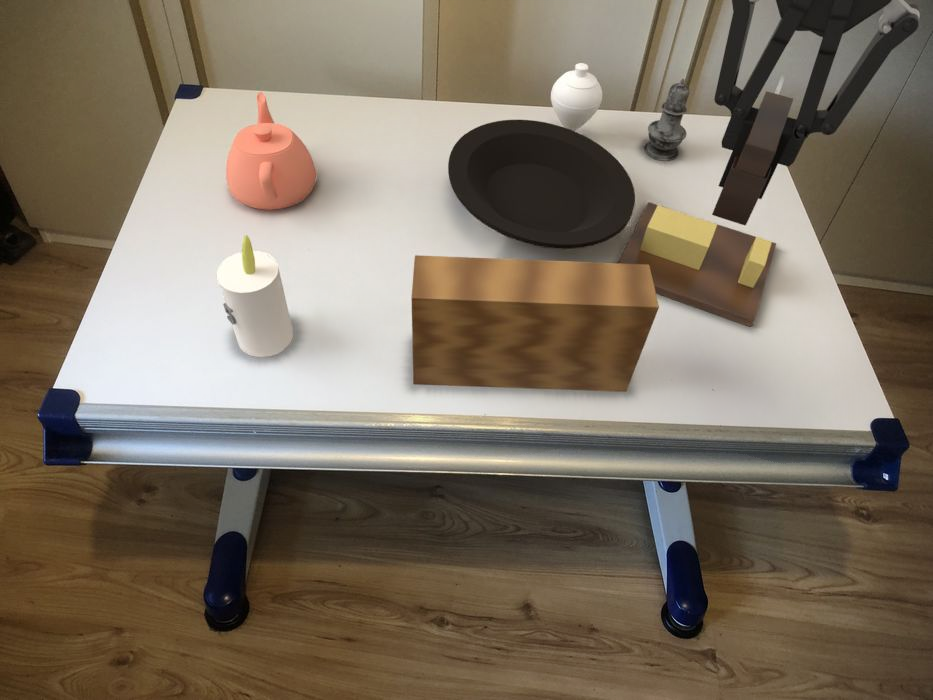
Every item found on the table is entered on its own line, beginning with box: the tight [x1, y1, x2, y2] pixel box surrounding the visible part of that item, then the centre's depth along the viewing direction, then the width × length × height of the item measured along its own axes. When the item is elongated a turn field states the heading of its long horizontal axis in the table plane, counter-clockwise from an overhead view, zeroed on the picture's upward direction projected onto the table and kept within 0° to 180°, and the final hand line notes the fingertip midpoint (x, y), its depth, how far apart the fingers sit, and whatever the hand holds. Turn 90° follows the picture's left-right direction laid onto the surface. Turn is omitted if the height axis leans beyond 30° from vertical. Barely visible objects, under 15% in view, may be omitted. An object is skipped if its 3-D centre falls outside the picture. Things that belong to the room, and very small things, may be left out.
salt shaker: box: [643, 78, 691, 162], centre depth 103 cm, size 6×6×12 cm
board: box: [617, 202, 777, 328], centre depth 91 cm, size 16×18×1 cm
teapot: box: [225, 92, 317, 211], centre depth 94 cm, size 12×18×10 cm
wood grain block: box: [410, 254, 660, 393], centre depth 73 cm, size 24×6×14 cm, turn 90°
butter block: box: [640, 204, 718, 270], centre depth 90 cm, size 5×8×4 cm, turn 64°
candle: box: [216, 234, 294, 358], centre depth 74 cm, size 6×6×15 cm
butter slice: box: [738, 236, 773, 288], centre depth 87 cm, size 5×2×4 cm, turn 154°
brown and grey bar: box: [711, 74, 794, 226], centre depth 64 cm, size 22×3×8 cm, turn 154°
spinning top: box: [550, 62, 603, 132], centre depth 104 cm, size 8×8×12 cm
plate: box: [447, 119, 636, 250], centre depth 95 cm, size 28×24×6 cm
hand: (742, 184), depth 62 cm, fingers closed on brown and grey bar, 2 cm apart
